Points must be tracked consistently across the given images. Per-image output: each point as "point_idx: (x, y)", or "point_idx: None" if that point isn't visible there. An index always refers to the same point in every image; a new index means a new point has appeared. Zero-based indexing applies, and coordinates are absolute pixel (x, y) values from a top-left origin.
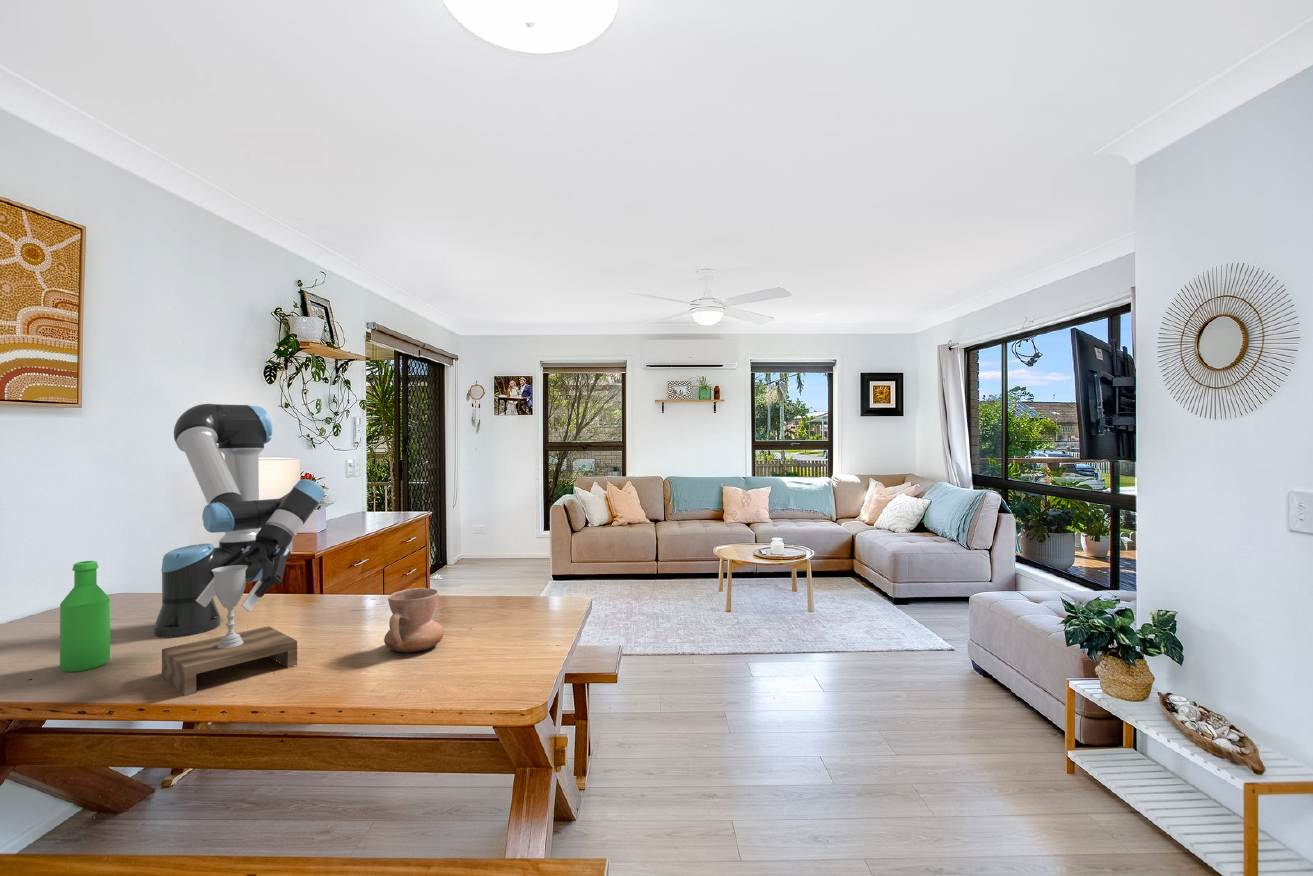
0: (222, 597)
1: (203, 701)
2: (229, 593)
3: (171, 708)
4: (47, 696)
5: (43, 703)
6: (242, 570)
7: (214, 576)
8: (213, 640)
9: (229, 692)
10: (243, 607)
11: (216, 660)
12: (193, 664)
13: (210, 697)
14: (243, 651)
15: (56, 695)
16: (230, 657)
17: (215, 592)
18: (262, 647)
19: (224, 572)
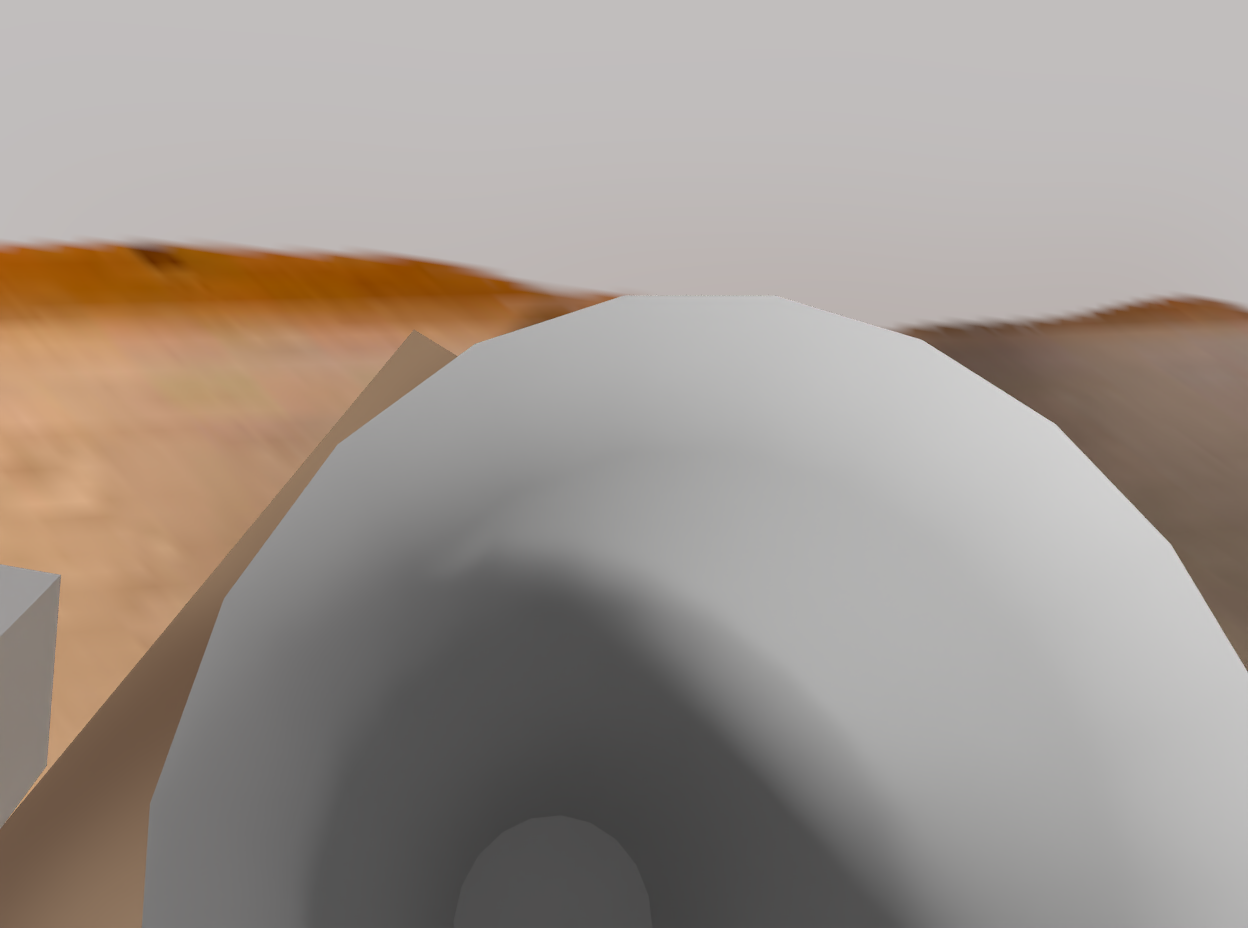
0: (557, 670)
1: (193, 364)
2: (432, 684)
3: (329, 267)
4: (1218, 386)
5: (1126, 307)
6: (208, 885)
7: (917, 541)
8: None
9: (105, 511)
10: (50, 648)
11: (269, 504)
12: (396, 390)
13: (192, 424)
14: (155, 752)
15: (1190, 400)
16: (195, 601)
17: (735, 646)
18: (1, 911)
19: (533, 362)
